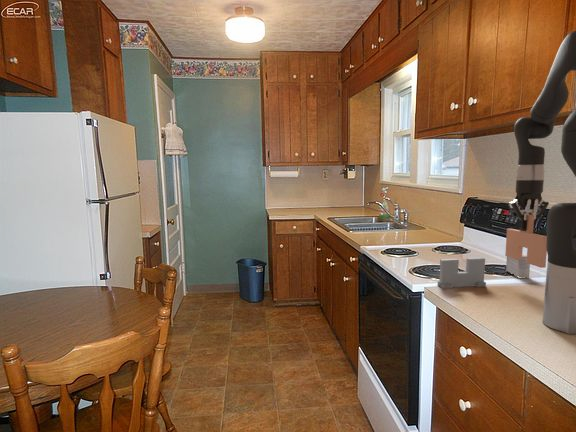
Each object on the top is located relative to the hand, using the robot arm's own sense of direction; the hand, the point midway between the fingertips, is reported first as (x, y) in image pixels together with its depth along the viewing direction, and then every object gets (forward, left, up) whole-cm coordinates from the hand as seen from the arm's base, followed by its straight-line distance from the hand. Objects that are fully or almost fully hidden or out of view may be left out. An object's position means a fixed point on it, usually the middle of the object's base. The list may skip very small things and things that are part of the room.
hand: (526, 230), depth 118 cm
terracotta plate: (0, 0, -11) cm, 11 cm away
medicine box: (+16, -11, -21) cm, 29 cm away
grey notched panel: (+8, +17, -21) cm, 28 cm away
